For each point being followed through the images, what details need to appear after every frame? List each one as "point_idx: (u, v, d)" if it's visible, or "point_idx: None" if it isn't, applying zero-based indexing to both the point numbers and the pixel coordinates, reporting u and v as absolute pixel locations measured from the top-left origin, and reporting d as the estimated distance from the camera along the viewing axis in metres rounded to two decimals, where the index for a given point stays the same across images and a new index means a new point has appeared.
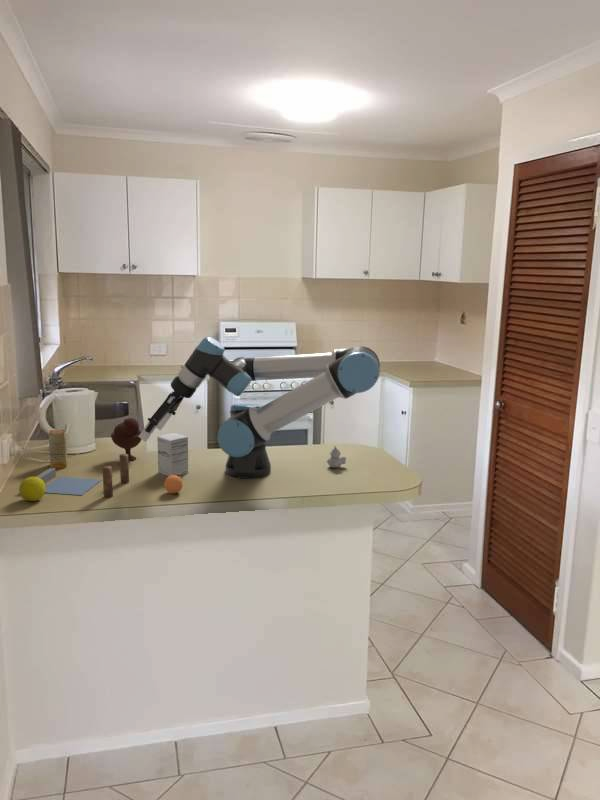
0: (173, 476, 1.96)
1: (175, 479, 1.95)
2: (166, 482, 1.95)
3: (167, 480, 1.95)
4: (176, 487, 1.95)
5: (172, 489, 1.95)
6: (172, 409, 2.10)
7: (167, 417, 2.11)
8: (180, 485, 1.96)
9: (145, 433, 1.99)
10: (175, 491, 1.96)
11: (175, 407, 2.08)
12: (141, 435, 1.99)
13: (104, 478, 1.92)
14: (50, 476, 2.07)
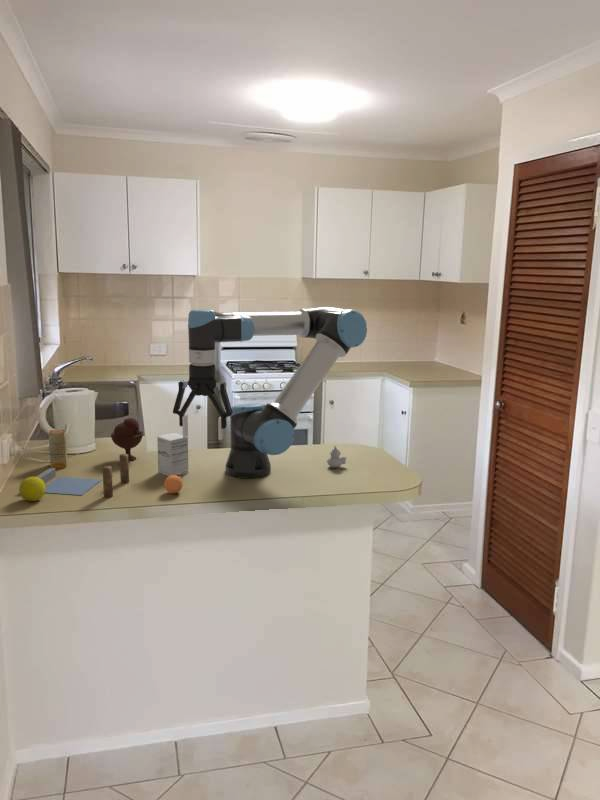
0: (173, 476, 1.96)
1: (175, 479, 1.95)
2: (166, 482, 1.95)
3: (167, 480, 1.95)
4: (176, 487, 1.95)
5: (172, 489, 1.95)
6: (188, 406, 1.92)
7: (187, 419, 1.93)
8: (180, 485, 1.96)
9: (221, 431, 1.92)
10: (175, 491, 1.96)
11: (191, 400, 1.92)
12: (221, 436, 1.91)
13: (104, 478, 1.92)
14: (50, 476, 2.07)
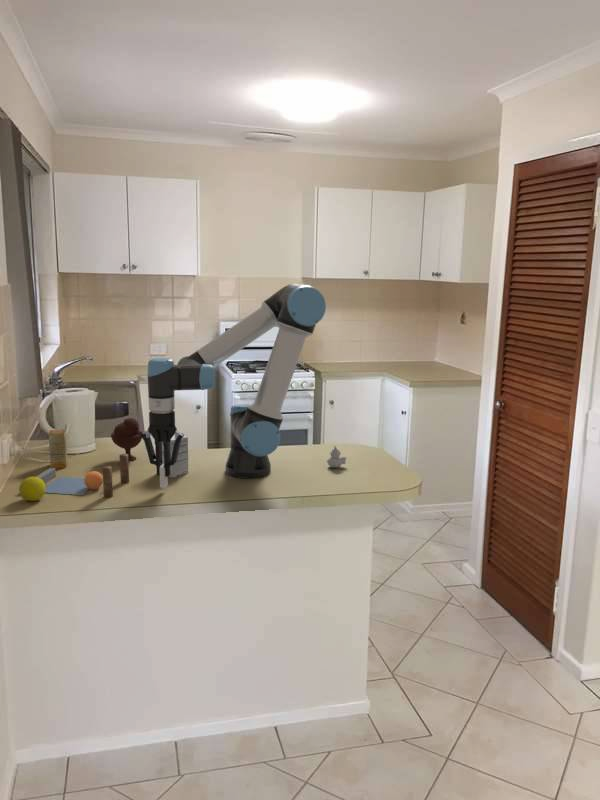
0: None
1: None
2: (93, 487, 1.98)
3: (92, 488, 1.98)
4: (86, 479, 1.97)
5: (90, 480, 1.97)
6: (161, 454, 1.97)
7: None
8: (85, 477, 1.98)
9: (166, 479, 1.97)
10: (90, 476, 1.97)
11: (161, 447, 1.97)
12: (165, 484, 1.97)
13: (104, 478, 1.92)
14: (50, 476, 2.07)
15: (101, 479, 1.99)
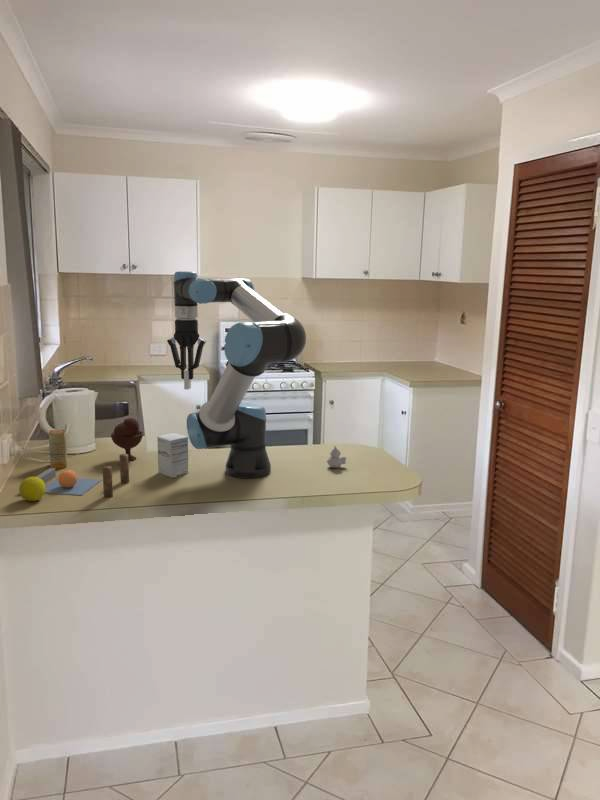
0: (72, 473, 1.99)
1: (72, 478, 1.99)
2: (63, 475, 1.98)
3: (65, 474, 1.98)
4: (68, 485, 1.98)
5: (63, 484, 1.98)
6: (185, 359, 2.20)
7: None
8: (72, 485, 1.99)
9: (189, 382, 2.20)
10: (64, 486, 1.99)
11: (185, 353, 2.20)
12: (189, 386, 2.20)
13: (104, 478, 1.92)
14: (50, 476, 2.07)
15: None
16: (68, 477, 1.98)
